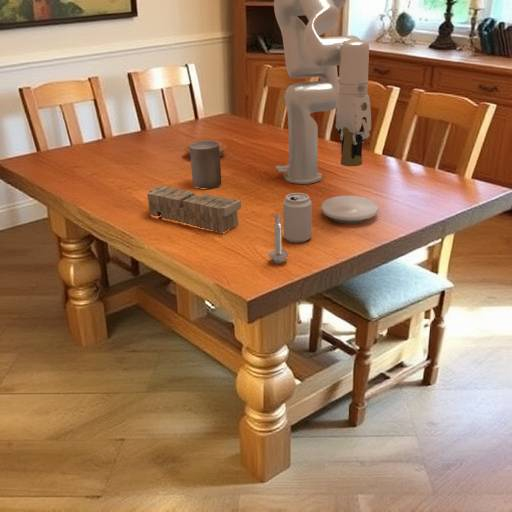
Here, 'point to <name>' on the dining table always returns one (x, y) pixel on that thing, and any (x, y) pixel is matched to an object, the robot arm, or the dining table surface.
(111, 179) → the dining table surface
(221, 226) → the block tower
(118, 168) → the dining table surface
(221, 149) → the pie
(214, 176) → the pillar candle
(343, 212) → the grey plate
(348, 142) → the cork
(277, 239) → the screw
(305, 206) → the can
